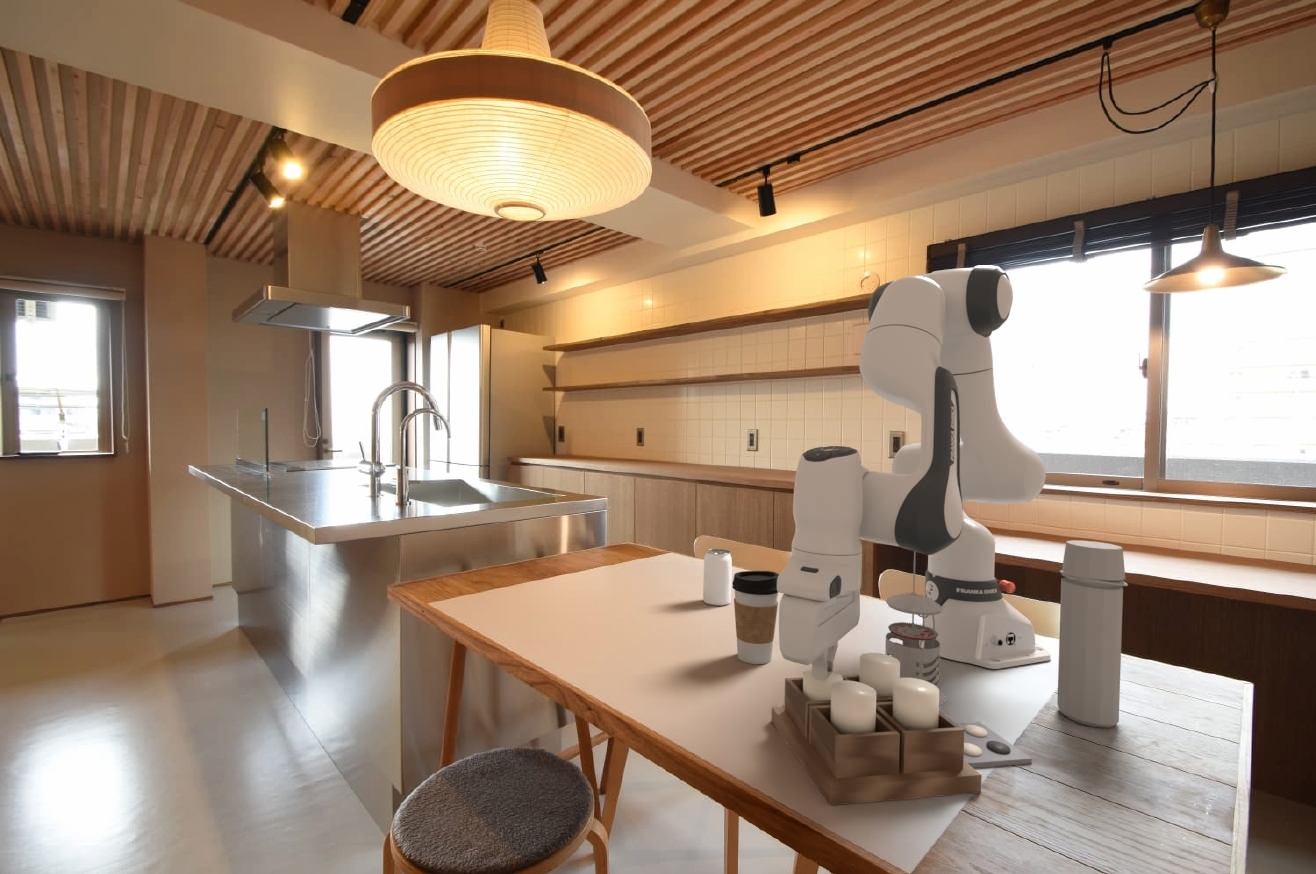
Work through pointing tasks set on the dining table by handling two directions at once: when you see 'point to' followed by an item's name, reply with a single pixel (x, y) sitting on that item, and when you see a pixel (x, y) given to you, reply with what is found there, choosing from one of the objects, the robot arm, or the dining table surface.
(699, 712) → the dining table surface
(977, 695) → the dining table surface
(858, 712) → the button
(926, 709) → the button
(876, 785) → the button board
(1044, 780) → the dining table surface
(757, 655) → the coffee cup
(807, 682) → the button
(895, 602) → the french press
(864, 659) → the button
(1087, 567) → the water bottle
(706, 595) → the can
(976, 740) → the pattern card
